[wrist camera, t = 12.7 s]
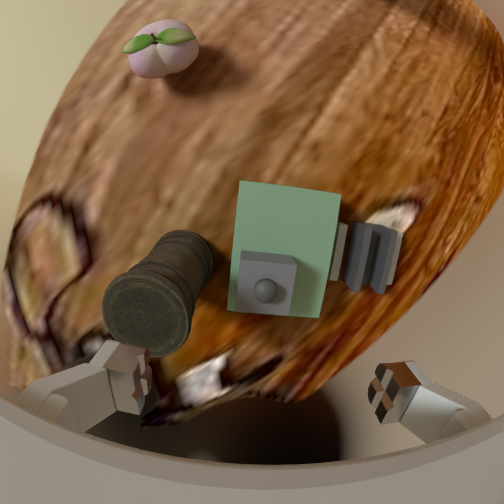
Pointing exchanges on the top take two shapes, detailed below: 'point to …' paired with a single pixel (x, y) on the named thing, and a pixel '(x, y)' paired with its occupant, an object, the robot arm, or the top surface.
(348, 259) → the chute
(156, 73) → the decorative fruit
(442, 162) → the top surface
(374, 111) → the top surface
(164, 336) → the container
